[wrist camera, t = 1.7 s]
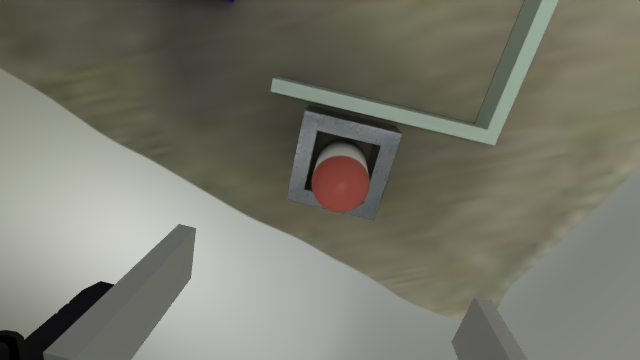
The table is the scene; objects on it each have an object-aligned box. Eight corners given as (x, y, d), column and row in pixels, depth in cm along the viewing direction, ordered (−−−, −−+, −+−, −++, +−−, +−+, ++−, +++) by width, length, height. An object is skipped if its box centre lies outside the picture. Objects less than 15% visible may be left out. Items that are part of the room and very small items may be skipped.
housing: (309, 105, 32) (304, 110, 28) (395, 125, 32) (402, 133, 28) (292, 185, 35) (286, 199, 31) (370, 203, 35) (373, 220, 31)
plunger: (323, 134, 30) (316, 157, 23) (371, 146, 30) (379, 172, 23) (312, 180, 32) (302, 214, 25) (358, 191, 32) (362, 228, 25)
